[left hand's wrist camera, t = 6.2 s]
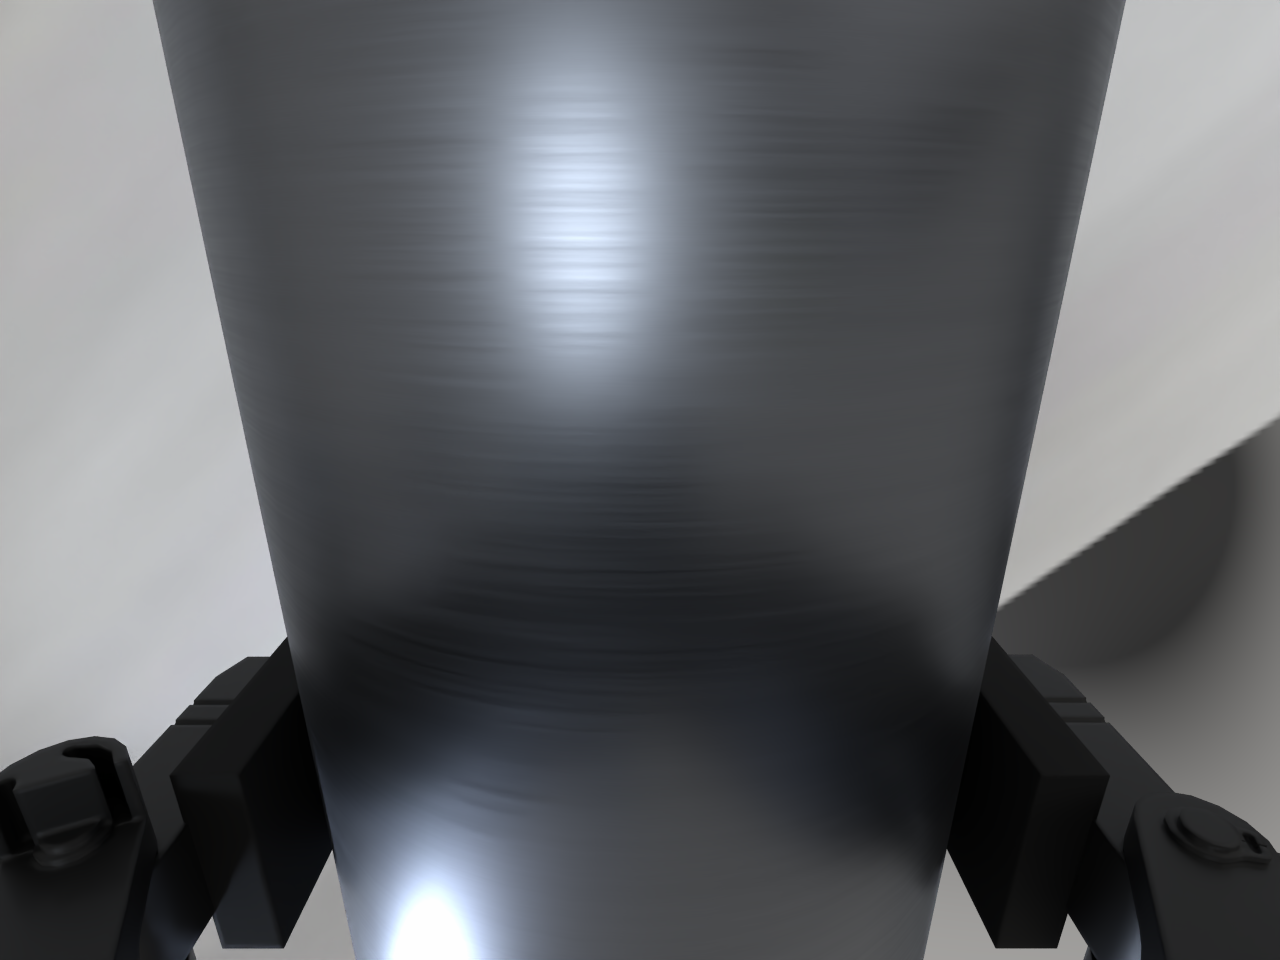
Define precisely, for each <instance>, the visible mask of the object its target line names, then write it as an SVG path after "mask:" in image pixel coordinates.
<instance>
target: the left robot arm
mask: <svg viewBox="0 0 1280 960" xmlns="http://www.w3.org/2000/svg"><path fill="white" fill-rule="evenodd" d="M947 850H948V852H949V854H950V856H951V858H952V860H953V862H954V864H955V866H956V868H957V870H958V872H959V874H960V876H961V878H962V880H963V883H964V885H965V887H966V889H967V891H968V893H969V895H970V897H971V899H972V901H973V903H974V905H975V907H976V909H977V911H978V913H979V915H980V917H981V919H982V921H983V923H984V925H985V927H986V929H987V932H988V934H989V936H990V938H991V940H992V942H993V944H994V946H995V948H1057V947H1058V943H1059V940H1060V937H1061V934H1062V930H1063V927H1064V924H1065V921H1066V917H1067V914H1069V916H1070V917H1071V919H1072V921H1073V922H1074V924H1075V925H1076V927H1077V929H1078V930H1079V932H1080V934H1081V935H1082V937H1083V938H1084V940H1085V942H1086V943H1087V945H1088V948H1087V951H1086V954H1085V957H1084V960H1280V853H1277V852H1276V851H1275V849H1274V848H1273V846H1272V845H1271V843H1270V842H1269V841H1268V840H1267V839H1266V838H1265V837H1263V836H1262V835H1261V834H1260V833H1259V832H1258V831H1256V830H1255V829H1254V828H1253V827H1252V826H1251V825H1249V824H1248V823H1247V822H1246V821H1244V820H1242V819H1240V818H1239V817H1237V816H1235V815H1234V814H1232V813H1230V812H1228V811H1227V810H1225V809H1223V808H1222V807H1220V806H1218V805H1215V804H1212V803H1210V802H1207V801H1204V800H1202V799H1199V798H1196V797H1194V796H1191V795H1185V794H1179V793H1175V792H1174V791H1173V790H1172V789H1171V788H1170V787H1169V786H1168V785H1167V784H1166V783H1165V782H1164V781H1163V780H1162V778H1161V777H1160V776H1159V775H1158V774H1157V773H1156V772H1155V771H1154V770H1153V769H1152V768H1151V767H1150V766H1149V765H1148V763H1147V762H1146V761H1145V760H1144V759H1143V758H1142V757H1141V756H1140V755H1139V754H1138V753H1137V752H1136V751H1135V750H1134V749H1133V748H1132V746H1131V745H1130V744H1129V743H1128V742H1127V741H1126V740H1125V739H1124V738H1123V737H1122V736H1121V735H1120V734H1119V733H1118V732H1117V730H1116V729H1115V728H1114V727H1113V726H1112V725H1111V724H1110V723H1106V722H1105V720H1104V717H1103V715H1102V714H1101V713H1100V712H1099V711H1098V710H1097V709H1096V708H1095V707H1094V706H1093V705H1092V704H1091V703H1087V702H1086V697H1085V696H1084V695H1083V694H1082V693H1081V692H1080V691H1079V690H1078V689H1077V688H1076V687H1075V686H1074V685H1073V683H1072V682H1071V681H1070V680H1069V679H1068V678H1067V677H1066V676H1065V675H1064V674H1062V673H1061V672H1059V671H1058V670H1056V669H1054V668H1053V667H1051V666H1050V665H1048V664H1047V663H1045V662H1043V661H1042V660H1040V659H1039V658H1037V657H1035V656H1034V655H1007V653H1006V652H1005V651H1004V650H1003V649H1002V648H1001V646H1000V645H999V644H998V643H997V642H996V640H995V639H994V638H993V637H992V636H991V641H990V646H989V650H988V655H987V660H986V665H985V669H984V674H983V679H982V684H981V688H980V693H979V698H978V703H977V707H976V712H975V717H974V722H973V726H972V731H971V736H970V741H969V745H968V750H967V755H966V759H965V764H964V769H963V774H962V778H961V783H960V788H959V793H958V797H957V802H956V807H955V812H954V816H953V821H952V826H951V831H950V835H949V840H948V845H947ZM331 851H332V845H331V840H330V835H329V831H328V826H327V821H326V816H325V812H324V807H323V802H322V797H321V793H320V788H319V783H318V779H317V774H316V769H315V764H314V760H313V755H312V750H311V746H310V741H309V736H308V731H307V727H306V722H305V717H304V712H303V708H302V703H301V698H300V694H299V689H298V684H297V679H296V675H295V670H294V665H293V661H292V656H291V651H290V646H289V642H288V637H286V639H285V640H284V641H283V642H282V643H281V645H280V646H279V647H278V648H277V649H276V650H275V652H274V653H273V654H272V655H271V656H270V657H246V658H245V659H243V660H242V661H240V662H239V663H237V664H235V665H234V666H232V667H231V668H229V669H228V670H226V671H224V672H223V673H221V674H220V675H218V676H217V677H215V678H214V679H213V681H212V682H211V683H210V684H209V685H208V686H207V687H206V688H205V689H204V690H203V691H202V692H201V693H200V695H199V696H198V697H197V698H196V699H195V700H194V704H193V705H189V706H188V707H187V708H186V710H185V711H184V712H183V713H182V714H181V715H180V716H179V717H178V718H177V719H176V723H175V725H171V726H170V727H169V728H168V729H167V730H166V731H165V732H164V733H163V734H162V735H161V736H160V737H159V739H158V740H157V741H156V742H155V743H154V744H153V745H152V746H151V747H150V748H149V749H148V750H147V751H146V752H145V754H144V755H143V756H142V757H141V758H140V759H139V760H138V761H137V762H136V763H135V764H134V765H133V766H132V763H131V760H130V757H129V754H128V751H127V748H126V746H125V745H123V744H122V743H120V742H119V741H118V740H116V739H115V738H106V737H97V736H93V737H87V738H80V739H74V740H68V741H65V742H62V743H59V744H56V745H53V746H50V747H47V748H44V749H41V750H39V751H37V752H35V753H33V754H31V755H29V756H27V757H25V758H23V759H21V760H19V761H17V762H15V763H13V764H11V765H10V766H8V767H7V768H6V769H4V770H3V771H2V772H0V960H196V957H195V954H194V951H193V946H194V945H195V943H196V941H197V940H198V938H199V937H200V935H201V933H202V932H203V930H204V928H205V927H206V925H207V924H208V922H209V920H210V919H211V917H212V916H213V919H214V922H215V926H216V929H217V932H218V935H219V939H220V942H221V945H222V948H284V947H285V945H286V943H287V941H288V939H289V937H290V935H291V933H292V931H293V929H294V927H295V925H296V923H297V920H298V918H299V916H300V914H301V912H302V910H303V908H304V906H305V904H306V902H307V900H308V898H309V896H310V894H311V892H312V890H313V888H314V886H315V884H316V882H317V880H318V878H319V876H320V873H321V871H322V869H323V867H324V865H325V863H326V861H327V859H328V857H329V855H330V853H331Z"/></svg>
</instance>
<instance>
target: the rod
mask: <svg viewBox="0 0 1280 960" xmlns="http://www.w3.org/2000/svg"><path fill="white" fill-rule="evenodd" d="M1125 1H1126V0H153V4H154V9H155V14H156V18H157V23H158V28H159V33H160V37H161V42H162V47H163V51H164V56H165V61H166V66H167V70H168V75H169V80H170V85H171V89H172V94H173V99H174V103H175V108H176V113H177V118H178V122H179V127H180V132H181V136H182V141H183V146H184V151H185V155H186V160H187V165H188V170H189V174H190V179H191V184H192V188H193V193H194V198H195V203H196V207H197V212H198V217H199V221H200V226H201V231H202V236H203V240H204V245H205V250H206V254H207V259H208V264H209V269H210V273H211V278H212V283H213V288H214V292H215V297H216V302H217V306H218V311H219V316H220V321H221V325H222V330H223V335H224V339H225V344H226V349H227V354H228V358H229V363H230V368H231V373H232V377H233V382H234V387H235V391H236V396H237V401H238V406H239V410H240V415H241V420H242V424H243V429H244V434H245V439H246V443H247V448H248V453H249V458H250V462H251V467H252V472H253V476H254V481H255V486H256V491H257V495H258V500H259V505H260V509H261V514H262V519H263V524H264V528H265V533H266V538H267V542H268V547H269V552H270V557H271V561H272V566H273V571H274V576H275V580H276V585H277V590H278V594H279V599H280V604H281V609H282V613H283V618H284V623H285V627H286V632H287V637H288V642H289V646H290V651H291V656H292V661H293V665H294V670H295V675H296V679H297V684H298V689H299V694H300V698H301V703H302V708H303V712H304V717H305V722H306V727H307V731H308V736H309V741H310V746H311V750H312V755H313V760H314V764H315V769H316V774H317V779H318V783H319V788H320V793H321V797H322V802H323V807H324V812H325V816H326V821H327V826H328V831H329V835H330V840H331V845H332V849H333V854H334V859H335V864H336V868H337V873H338V878H339V882H340V887H341V892H342V897H343V901H344V906H345V911H346V915H347V920H348V925H349V930H350V934H351V939H352V944H353V949H354V953H355V958H356V960H923V958H924V954H925V949H926V944H927V939H928V935H929V930H930V925H931V920H932V916H933V911H934V906H935V901H936V897H937V892H938V887H939V883H940V878H941V873H942V868H943V863H944V859H945V854H946V849H947V845H948V840H949V835H950V831H951V826H952V821H953V816H954V812H955V807H956V802H957V797H958V793H959V788H960V783H961V778H962V774H963V769H964V764H965V759H966V755H967V750H968V745H969V741H970V736H971V731H972V726H973V722H974V717H975V712H976V707H977V703H978V698H979V693H980V688H981V684H982V679H983V674H984V669H985V665H986V660H987V655H988V650H989V646H990V641H991V636H992V632H993V627H994V622H995V617H996V613H997V608H998V603H999V598H1000V594H1001V589H1002V584H1003V579H1004V575H1005V570H1006V565H1007V560H1008V556H1009V551H1010V546H1011V542H1012V537H1013V532H1014V527H1015V523H1016V518H1017V513H1018V508H1019V504H1020V499H1021V494H1022V489H1023V485H1024V480H1025V475H1026V470H1027V466H1028V461H1029V456H1030V452H1031V447H1032V442H1033V437H1034V433H1035V428H1036V423H1037V418H1038V414H1039V409H1040V404H1041V399H1042V395H1043V390H1044V385H1045V380H1046V376H1047V371H1048V366H1049V362H1050V357H1051V352H1052V347H1053V343H1054V338H1055V333H1056V328H1057V324H1058V319H1059V314H1060V309H1061V305H1062V300H1063V295H1064V290H1065V286H1066V281H1067V276H1068V271H1069V267H1070V262H1071V257H1072V253H1073V248H1074V243H1075V238H1076V234H1077V229H1078V224H1079V219H1080V215H1081V210H1082V205H1083V200H1084V196H1085V191H1086V186H1087V181H1088V177H1089V172H1090V167H1091V163H1092V158H1093V153H1094V148H1095V144H1096V139H1097V134H1098V129H1099V125H1100V120H1101V115H1102V110H1103V106H1104V101H1105V96H1106V91H1107V87H1108V82H1109V77H1110V73H1111V68H1112V63H1113V58H1114V54H1115V49H1116V44H1117V39H1118V35H1119V30H1120V25H1121V20H1122V16H1123V11H1124V6H1125Z"/></svg>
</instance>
